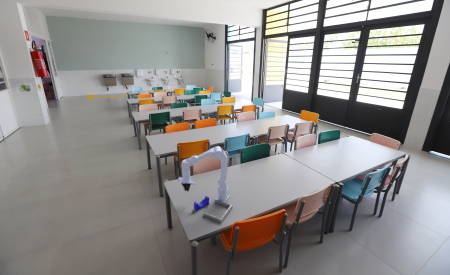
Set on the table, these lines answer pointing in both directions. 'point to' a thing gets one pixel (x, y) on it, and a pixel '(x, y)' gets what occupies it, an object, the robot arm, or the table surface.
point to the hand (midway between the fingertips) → (187, 190)
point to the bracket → (223, 215)
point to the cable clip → (201, 203)
